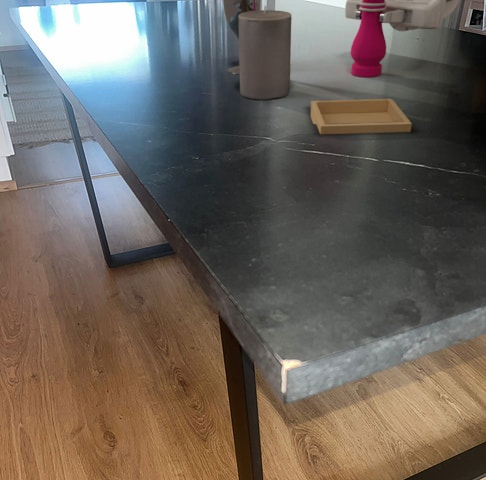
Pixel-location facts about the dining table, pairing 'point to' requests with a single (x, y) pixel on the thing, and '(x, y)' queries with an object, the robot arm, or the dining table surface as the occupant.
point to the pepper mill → (369, 41)
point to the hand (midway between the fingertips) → (369, 16)
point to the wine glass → (233, 5)
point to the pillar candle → (264, 53)
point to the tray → (358, 116)
